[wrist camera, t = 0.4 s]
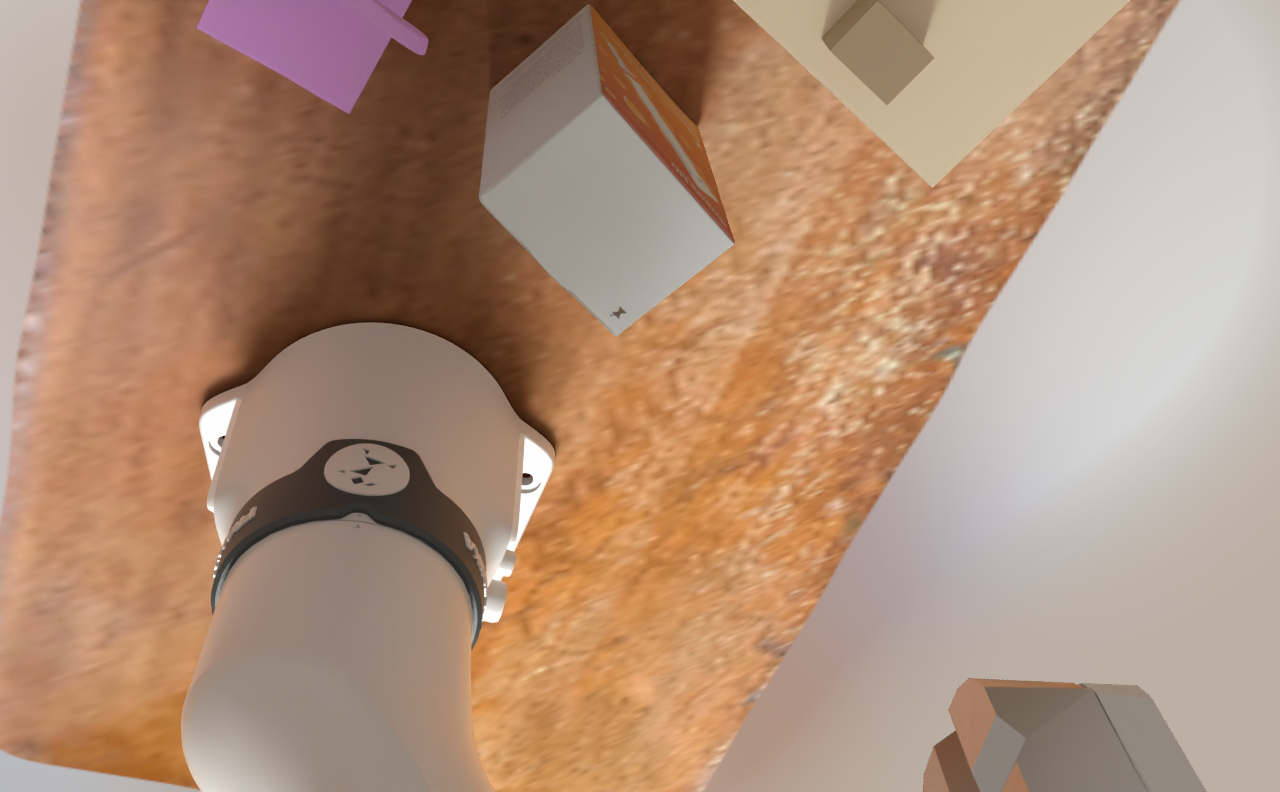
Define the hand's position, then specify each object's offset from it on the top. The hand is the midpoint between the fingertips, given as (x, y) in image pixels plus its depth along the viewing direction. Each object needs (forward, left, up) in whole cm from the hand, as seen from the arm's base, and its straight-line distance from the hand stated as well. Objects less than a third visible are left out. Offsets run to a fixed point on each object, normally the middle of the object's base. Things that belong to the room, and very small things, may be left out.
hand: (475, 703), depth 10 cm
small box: (-11, -5, -47) cm, 49 cm away
